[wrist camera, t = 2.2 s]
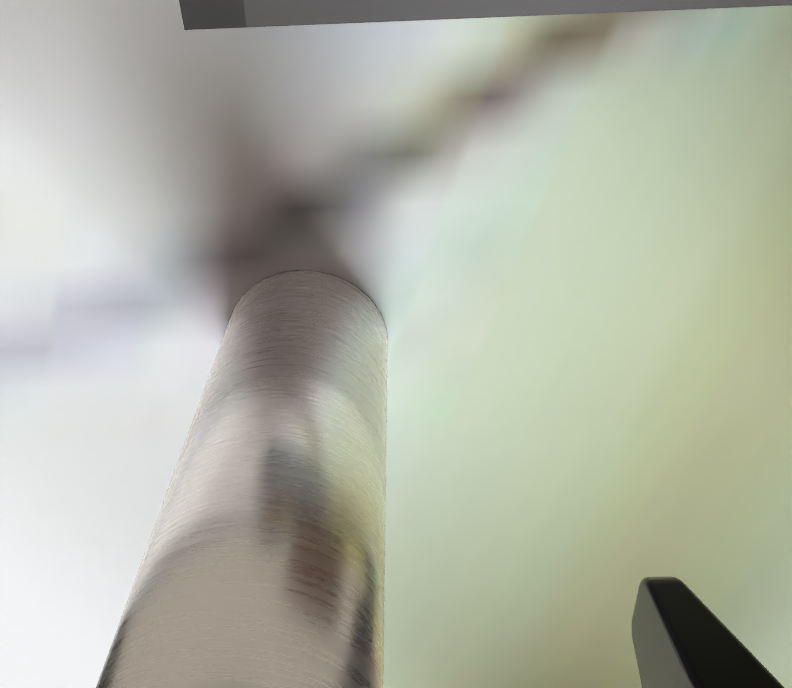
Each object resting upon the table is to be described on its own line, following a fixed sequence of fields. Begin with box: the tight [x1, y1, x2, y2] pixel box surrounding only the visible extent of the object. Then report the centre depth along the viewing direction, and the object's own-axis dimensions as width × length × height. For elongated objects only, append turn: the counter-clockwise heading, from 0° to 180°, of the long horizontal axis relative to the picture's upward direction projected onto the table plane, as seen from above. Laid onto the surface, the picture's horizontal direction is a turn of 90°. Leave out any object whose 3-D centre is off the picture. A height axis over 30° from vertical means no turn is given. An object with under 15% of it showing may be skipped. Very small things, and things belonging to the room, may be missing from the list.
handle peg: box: [96, 271, 388, 688], centre depth 10 cm, size 3×3×9 cm
